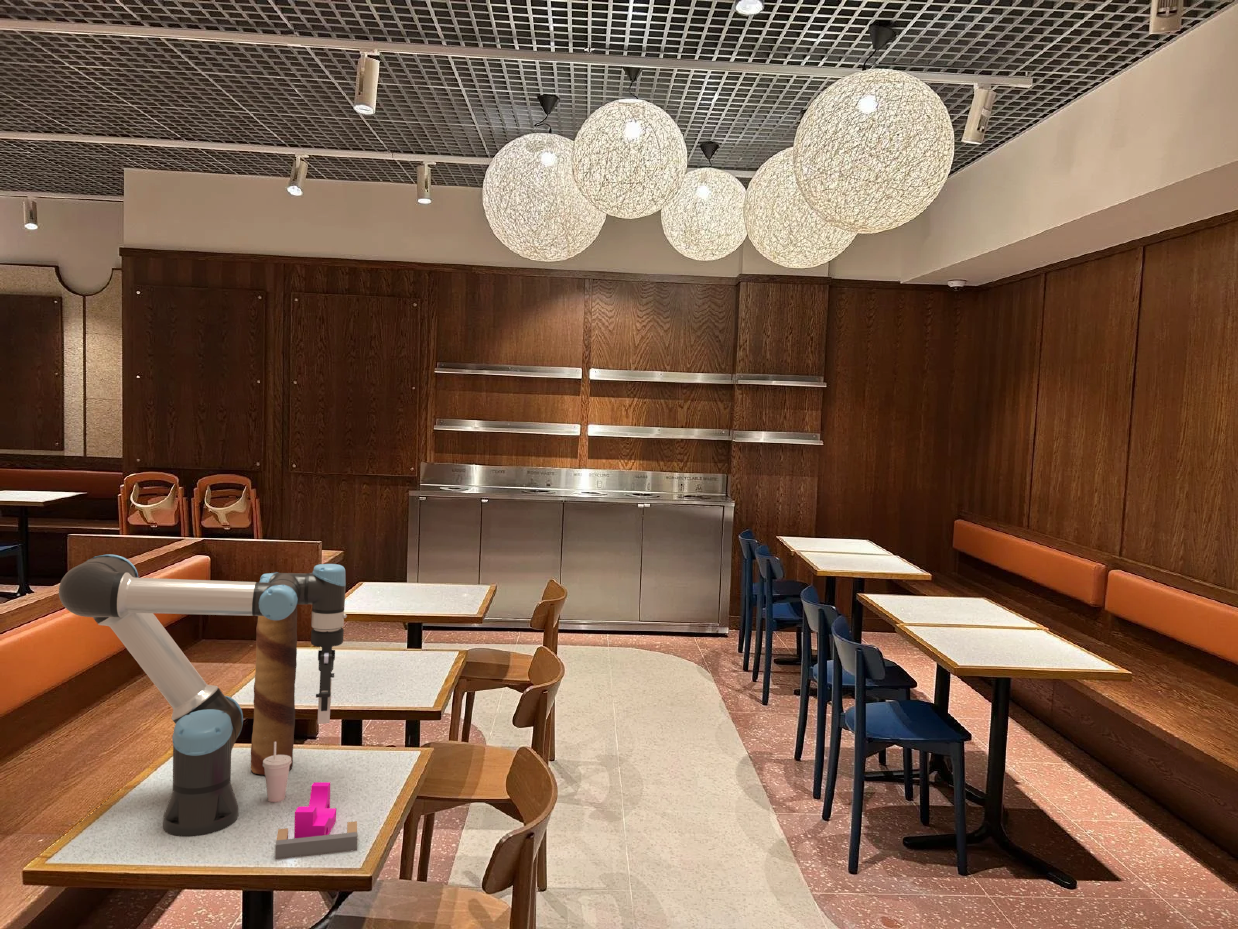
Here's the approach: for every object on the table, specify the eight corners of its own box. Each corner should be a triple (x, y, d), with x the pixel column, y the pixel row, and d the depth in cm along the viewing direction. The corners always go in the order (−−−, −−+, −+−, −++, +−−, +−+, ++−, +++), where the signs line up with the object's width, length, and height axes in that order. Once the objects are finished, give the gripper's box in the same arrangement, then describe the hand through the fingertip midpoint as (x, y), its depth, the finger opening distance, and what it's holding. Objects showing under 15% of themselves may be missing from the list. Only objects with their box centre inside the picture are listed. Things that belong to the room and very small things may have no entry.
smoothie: (263, 795, 204) (264, 737, 203) (291, 792, 206) (292, 735, 205) (260, 807, 198) (261, 747, 197) (290, 804, 200) (291, 745, 199)
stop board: (275, 861, 174) (275, 845, 174) (277, 845, 181) (278, 829, 181) (356, 852, 179) (357, 836, 179) (356, 837, 186) (356, 821, 186)
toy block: (324, 846, 182) (324, 812, 181) (294, 846, 181) (294, 812, 181) (340, 814, 196) (341, 782, 196) (313, 814, 196) (313, 782, 196)
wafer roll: (302, 762, 224) (305, 593, 222) (283, 778, 214) (287, 601, 212) (263, 759, 225) (267, 591, 223) (243, 775, 215) (246, 599, 212)
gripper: (343, 640, 197) (340, 730, 198) (343, 616, 221) (340, 696, 222) (309, 641, 195) (305, 732, 196) (313, 616, 218) (310, 698, 219)
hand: (324, 713), depth 209 cm, fingers open, 13 cm apart
